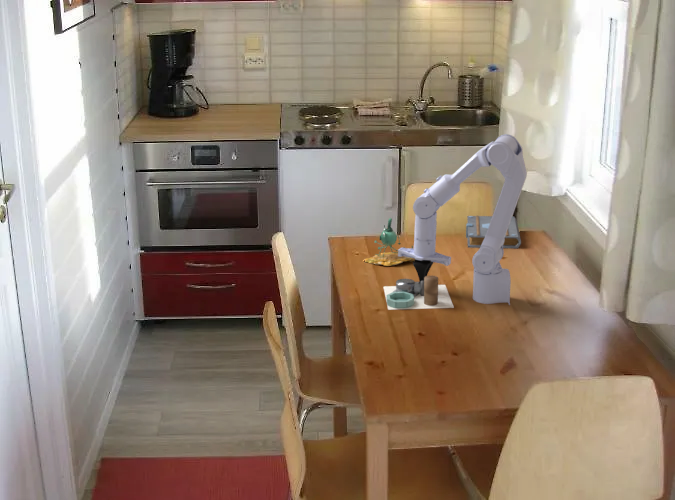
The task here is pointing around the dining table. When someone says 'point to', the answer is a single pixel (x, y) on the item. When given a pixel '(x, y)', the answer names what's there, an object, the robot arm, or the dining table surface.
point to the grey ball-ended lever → (408, 286)
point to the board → (443, 298)
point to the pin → (431, 290)
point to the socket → (400, 299)
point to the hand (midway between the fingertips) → (422, 285)
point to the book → (480, 226)
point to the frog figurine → (387, 239)
